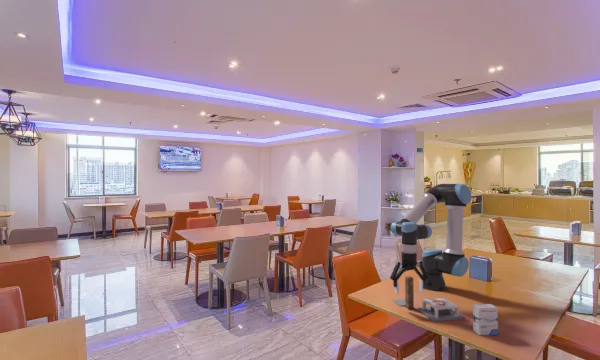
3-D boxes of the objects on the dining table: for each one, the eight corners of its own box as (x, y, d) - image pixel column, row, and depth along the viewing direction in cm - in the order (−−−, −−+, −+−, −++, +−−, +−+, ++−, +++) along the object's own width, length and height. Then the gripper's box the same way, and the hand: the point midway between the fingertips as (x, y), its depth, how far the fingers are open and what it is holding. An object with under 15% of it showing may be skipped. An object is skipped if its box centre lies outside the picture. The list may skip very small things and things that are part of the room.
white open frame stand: (446, 307, 168) (446, 297, 168) (463, 319, 154) (463, 307, 154) (417, 309, 165) (417, 299, 165) (433, 321, 151) (433, 309, 151)
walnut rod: (410, 306, 169) (410, 276, 169) (413, 308, 166) (413, 278, 166) (405, 307, 169) (405, 276, 169) (408, 309, 166) (408, 278, 166)
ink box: (491, 329, 143) (491, 303, 143) (498, 335, 138) (498, 307, 138) (472, 330, 142) (472, 303, 142) (479, 335, 137) (478, 308, 137)
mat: (406, 299, 179) (406, 299, 179) (413, 305, 171) (413, 304, 171) (392, 300, 178) (392, 300, 178) (399, 306, 170) (399, 305, 170)
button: (441, 307, 162) (441, 303, 162) (446, 310, 158) (446, 306, 158) (434, 307, 161) (434, 303, 161) (438, 310, 157) (438, 307, 157)
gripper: (427, 249, 173) (427, 289, 173) (383, 251, 169) (383, 291, 169) (435, 252, 166) (435, 293, 166) (389, 254, 162) (389, 296, 162)
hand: (409, 292), depth 167 cm, fingers open, 13 cm apart
